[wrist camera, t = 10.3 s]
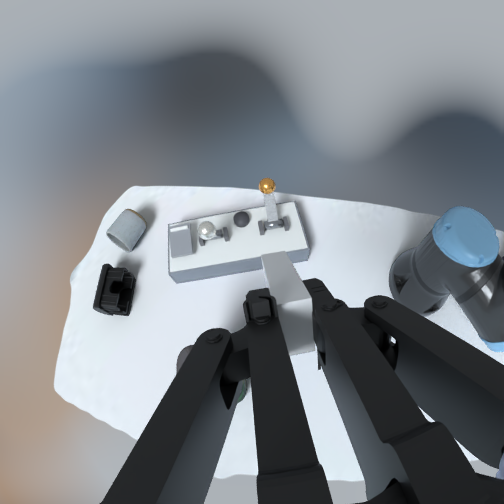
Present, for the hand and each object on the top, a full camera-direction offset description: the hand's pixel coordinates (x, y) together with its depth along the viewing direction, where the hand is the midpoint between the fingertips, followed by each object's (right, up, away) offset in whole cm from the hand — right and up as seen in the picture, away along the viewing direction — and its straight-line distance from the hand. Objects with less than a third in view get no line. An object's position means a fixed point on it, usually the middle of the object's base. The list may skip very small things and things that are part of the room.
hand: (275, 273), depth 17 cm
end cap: (-31, -9, +40) cm, 51 cm away
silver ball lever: (-9, +5, +37) cm, 38 cm away
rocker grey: (-16, +4, +36) cm, 40 cm away
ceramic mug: (-32, +5, +47) cm, 57 cm away
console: (-5, +2, +42) cm, 43 cm away
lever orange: (+3, +7, +37) cm, 37 cm away
